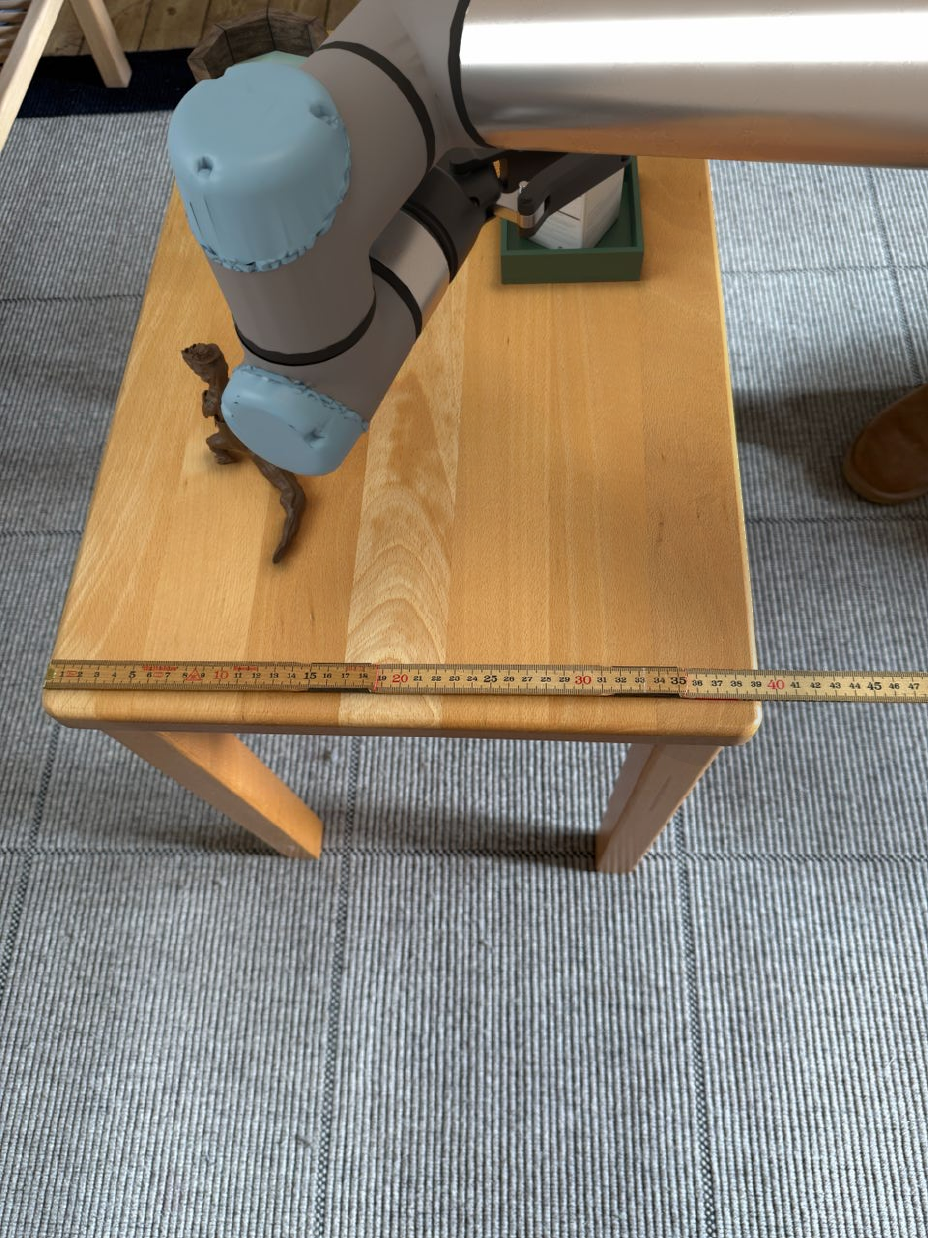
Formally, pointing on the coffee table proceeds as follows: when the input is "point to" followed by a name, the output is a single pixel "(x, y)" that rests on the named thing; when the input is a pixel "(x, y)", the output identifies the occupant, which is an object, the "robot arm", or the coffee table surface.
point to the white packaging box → (583, 217)
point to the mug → (257, 41)
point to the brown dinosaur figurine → (215, 373)
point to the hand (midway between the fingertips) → (533, 36)
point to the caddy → (604, 262)
